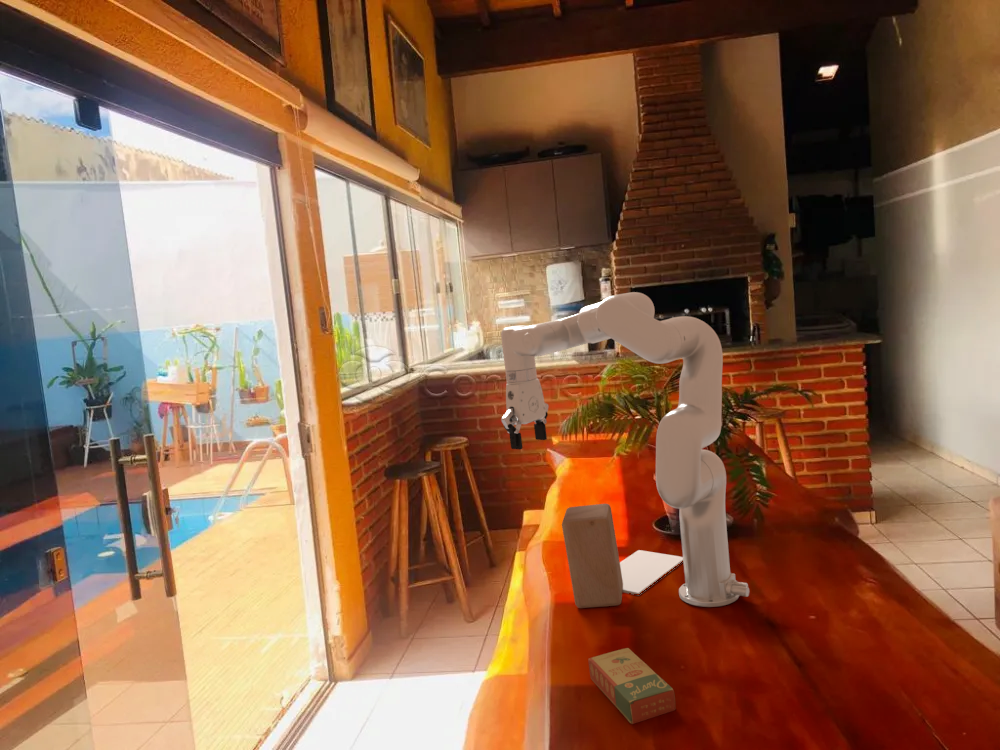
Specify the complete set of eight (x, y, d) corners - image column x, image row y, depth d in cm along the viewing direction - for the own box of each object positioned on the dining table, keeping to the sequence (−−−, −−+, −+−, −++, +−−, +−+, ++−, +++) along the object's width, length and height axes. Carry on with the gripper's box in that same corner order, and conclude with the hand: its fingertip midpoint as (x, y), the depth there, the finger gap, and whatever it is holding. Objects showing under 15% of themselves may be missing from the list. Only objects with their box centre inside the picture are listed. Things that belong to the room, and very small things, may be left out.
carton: (631, 668, 138) (629, 645, 137) (677, 712, 123) (675, 687, 122) (589, 679, 135) (587, 657, 135) (631, 726, 120) (629, 701, 120)
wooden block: (622, 606, 161) (607, 517, 158) (575, 610, 163) (560, 522, 161) (624, 586, 171) (610, 501, 168) (580, 589, 173) (565, 506, 170)
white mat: (685, 559, 184) (685, 557, 183) (638, 595, 167) (638, 592, 167) (638, 552, 192) (638, 549, 192) (589, 585, 175) (589, 582, 175)
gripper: (510, 382, 177) (519, 453, 179) (554, 370, 190) (562, 436, 192) (486, 382, 182) (495, 451, 184) (531, 370, 195) (538, 435, 197)
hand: (529, 444), depth 188 cm, fingers open, 9 cm apart
